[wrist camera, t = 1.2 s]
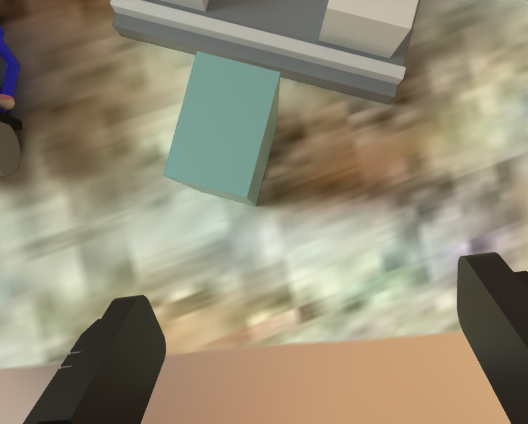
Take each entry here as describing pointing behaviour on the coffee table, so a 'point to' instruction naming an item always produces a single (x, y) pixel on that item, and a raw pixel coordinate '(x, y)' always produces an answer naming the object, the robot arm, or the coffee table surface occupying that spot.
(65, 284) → the coffee table surface
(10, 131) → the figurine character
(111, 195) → the coffee table surface
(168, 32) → the rail board
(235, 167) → the block
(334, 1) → the mounted blocks
